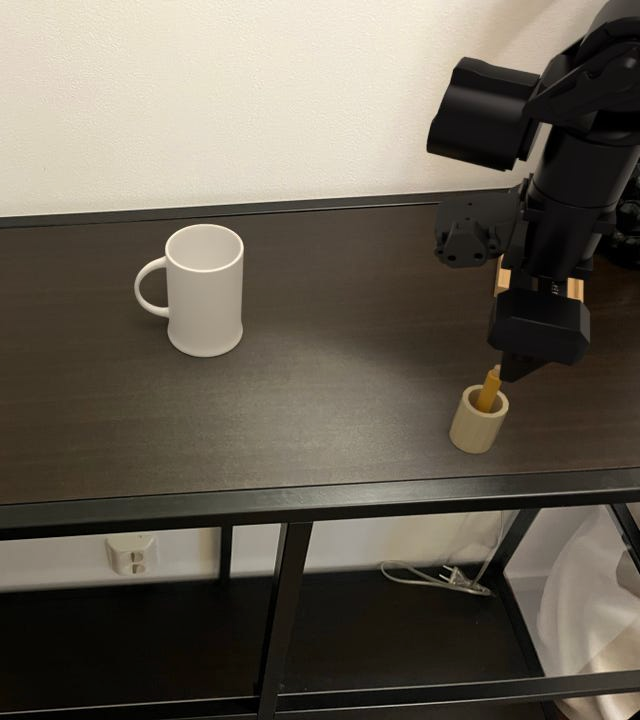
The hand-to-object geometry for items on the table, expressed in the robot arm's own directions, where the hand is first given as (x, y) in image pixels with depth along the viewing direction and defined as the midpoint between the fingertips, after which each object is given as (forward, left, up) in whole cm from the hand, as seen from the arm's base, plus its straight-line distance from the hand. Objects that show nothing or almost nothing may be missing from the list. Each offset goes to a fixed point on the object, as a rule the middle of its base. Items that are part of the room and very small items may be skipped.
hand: (509, 342), depth 63 cm
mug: (+31, -5, -13) cm, 34 cm away
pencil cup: (0, 0, -13) cm, 13 cm away
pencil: (0, 0, -13) cm, 13 cm away
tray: (-5, -27, -13) cm, 31 cm away
